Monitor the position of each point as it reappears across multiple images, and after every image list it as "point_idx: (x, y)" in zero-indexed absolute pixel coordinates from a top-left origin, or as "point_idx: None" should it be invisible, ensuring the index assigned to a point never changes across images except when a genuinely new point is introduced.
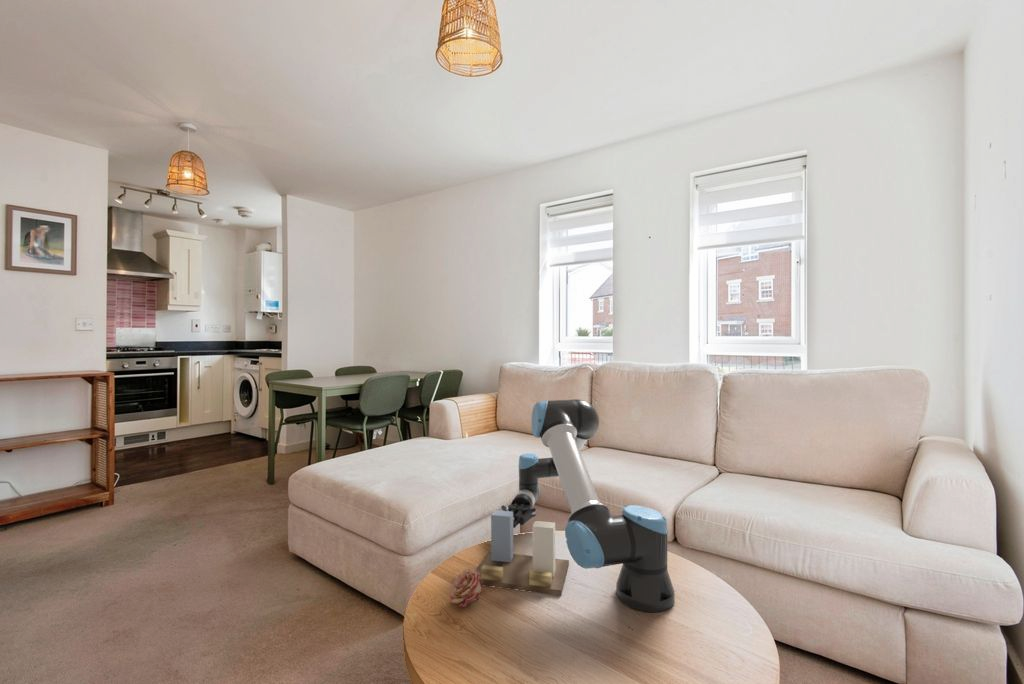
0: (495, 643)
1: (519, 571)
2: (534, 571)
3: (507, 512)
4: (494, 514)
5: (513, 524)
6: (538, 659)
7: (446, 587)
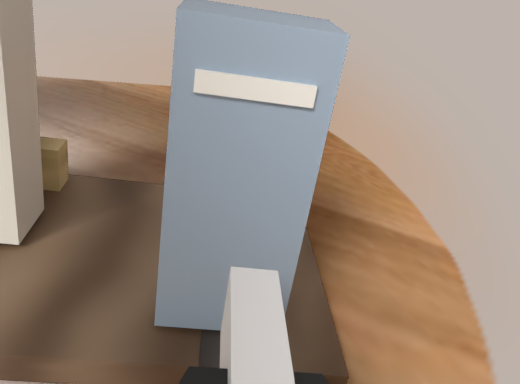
0: (155, 108)
1: (110, 231)
2: (41, 146)
3: (224, 12)
4: (310, 18)
5: (203, 378)
6: (69, 89)
7: (358, 205)
